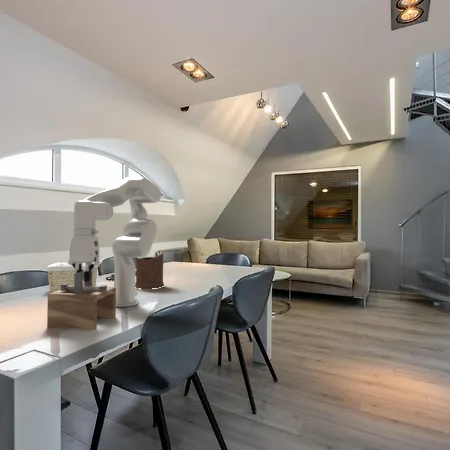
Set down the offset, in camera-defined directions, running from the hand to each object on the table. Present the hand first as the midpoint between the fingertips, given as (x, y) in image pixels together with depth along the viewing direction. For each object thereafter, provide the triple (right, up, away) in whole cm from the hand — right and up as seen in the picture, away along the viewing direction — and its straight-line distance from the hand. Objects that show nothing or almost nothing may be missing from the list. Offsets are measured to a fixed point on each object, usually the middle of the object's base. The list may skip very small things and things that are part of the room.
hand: (83, 280), depth 120 cm
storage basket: (-33, -16, +59) cm, 70 cm away
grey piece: (0, -5, 0) cm, 5 cm away
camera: (-21, -16, +90) cm, 94 cm away
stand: (0, -16, 0) cm, 16 cm away
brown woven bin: (+6, -16, +69) cm, 71 cm away
